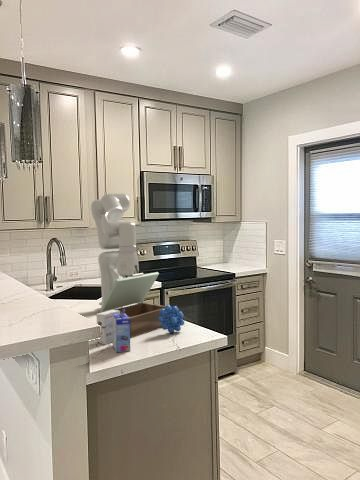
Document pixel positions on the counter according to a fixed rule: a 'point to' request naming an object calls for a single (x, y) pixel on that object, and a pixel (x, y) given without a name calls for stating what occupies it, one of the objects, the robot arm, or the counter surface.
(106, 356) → the counter surface
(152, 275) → the lid
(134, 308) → the storage box
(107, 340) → the ink box
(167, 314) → the grapes
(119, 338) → the ink cartridge box
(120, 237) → the robot arm
